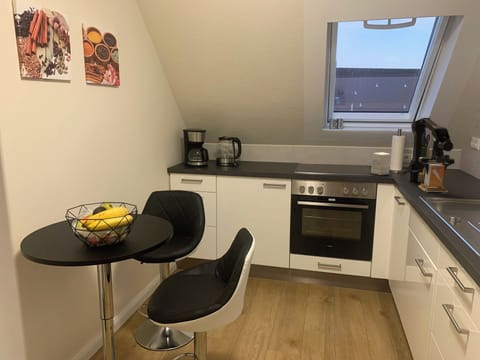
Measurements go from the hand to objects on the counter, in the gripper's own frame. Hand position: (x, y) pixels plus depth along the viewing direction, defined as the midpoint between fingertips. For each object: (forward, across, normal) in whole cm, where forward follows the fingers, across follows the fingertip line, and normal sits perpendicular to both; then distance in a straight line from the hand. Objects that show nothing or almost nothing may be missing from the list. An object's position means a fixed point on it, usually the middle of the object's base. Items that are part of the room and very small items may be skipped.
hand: (434, 174), depth 225 cm
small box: (+7, 0, 0) cm, 7 cm away
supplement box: (+10, -21, +45) cm, 51 cm away
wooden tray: (+10, 0, 0) cm, 10 cm away
